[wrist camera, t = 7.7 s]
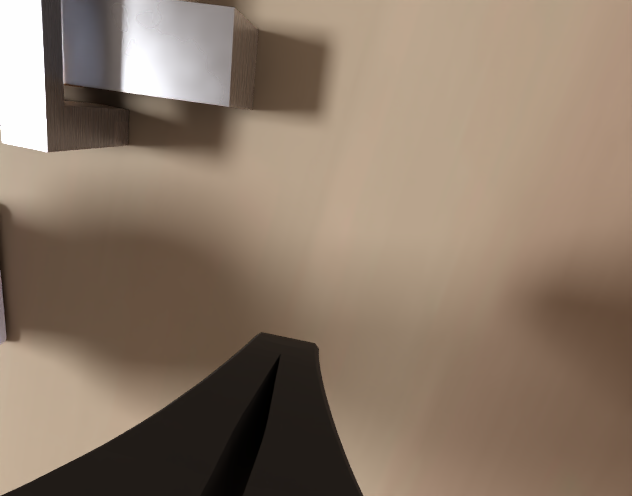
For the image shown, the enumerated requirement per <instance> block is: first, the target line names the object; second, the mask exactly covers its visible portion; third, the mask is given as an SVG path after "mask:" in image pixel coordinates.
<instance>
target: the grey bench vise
mask: <svg viewBox="0 0 632 496" xmlns="http://www.w3.org/2000/svg"><path fill="white" fill-rule="evenodd" d="M0 126H1V133H2V143H6V144H11V145H15V146H20V147H25V148H30V149H35V150H39V151H44V152H56V151H67V150H79V149H91V148H102V147H114V146H126V145H128V128H129V110H126V109H121V108H116V107H111V106H106V105H101V104H96V103H88V102H76V101H64V86H63V51H62V15H61V0H0Z"/></svg>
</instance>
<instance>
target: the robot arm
mask: <svg viewBox="0 0 632 496" xmlns="http://www.w3.org/2000/svg"><path fill="white" fill-rule="evenodd" d="M5 341H6V327H5V316H4V305H3V294H2V283H1V272H0V345H1V344H2V343H4V342H5ZM1 496H363V494H362V492H361V490H360V488H359V485H358V483H357V481H356V479H355V476H354V474H353V472H352V469H351V467H350V464H349V462H348V459H347V457H346V454H345V452H344V449H343V446H342V444H341V441H340V438H339V435H338V433H337V430H336V427H335V424H334V421H333V418H332V414H331V411H330V407H329V404H328V401H327V397H326V394H325V390H324V385H323V381H322V376H321V371H320V364H319V349H318V347H317V346H316V344H315V343H311V342H306V341H301V340H296V339H291V338H287V337H282V336H277V335H272V334H267V333H263V332H261V333H260V334H258V335H256V336H255V337H254V338H253V339H252V340H251V341H250V342H249V343H248V344H246V345H245V346H244V347H243V348H242V349H241V350H240V351H238V352H237V353H236V354H235V355H234V356H233V357H231V358H230V359H229V360H228V361H227V362H225V363H224V364H223V365H222V366H220V367H219V368H218V369H217V370H215V371H214V372H213V373H211V374H210V375H209V376H208V377H206V378H205V379H204V380H203V381H201V382H200V383H199V384H197V385H196V386H194V387H193V388H192V389H190V390H189V391H187V392H186V393H184V394H183V395H182V396H180V397H179V398H177V399H176V400H174V401H173V402H172V403H170V404H169V405H167V406H166V407H164V408H163V409H161V410H160V411H158V412H157V413H155V414H154V415H152V416H151V417H149V418H147V419H146V420H144V421H143V422H141V423H139V424H138V425H136V426H135V427H133V428H131V429H130V430H128V431H126V432H124V433H123V434H121V435H119V436H118V437H116V438H114V439H112V440H111V441H109V442H107V443H105V444H104V445H102V446H100V447H98V448H96V449H94V450H92V451H91V452H89V453H87V454H85V455H83V456H81V457H79V458H77V459H75V460H73V461H71V462H69V463H67V464H65V465H63V466H61V467H59V468H57V469H55V470H53V471H51V472H49V473H47V474H45V475H43V476H41V477H39V478H37V479H36V480H34V481H32V482H30V483H27V484H25V485H23V486H21V487H19V488H17V489H15V490H12V491H10V492H8V493H6V494H4V495H1Z"/></svg>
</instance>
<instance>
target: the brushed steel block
mask: <svg viewBox="0 0 632 496" xmlns="http://www.w3.org/2000/svg"><path fill="white" fill-rule="evenodd" d="M61 15H62V51H63V85H69V86H76V87H83V86H84V87H92V88H99V89H106V90H113V91H120V92H127V93H134V94H141V95H149V96H156V97H163V98H170V99H177V100H184V101H191V102H198V103H205V104H213V105H220V106H227V107H234V108H241V109H249V110H253V96H254V83H255V70H256V57H257V43H258V29H257V28H256V27H255V26H254V25H253V24H252V23H251V22H250V21H249V20H248V19H247V18H245V17H244V16H243V15H242V14H241V13H240V12H239V11H238V10H237V9H236V8H235V7H227V6H218V5H210V4H202V3H194V2H186V1H178V0H61Z"/></svg>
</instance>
